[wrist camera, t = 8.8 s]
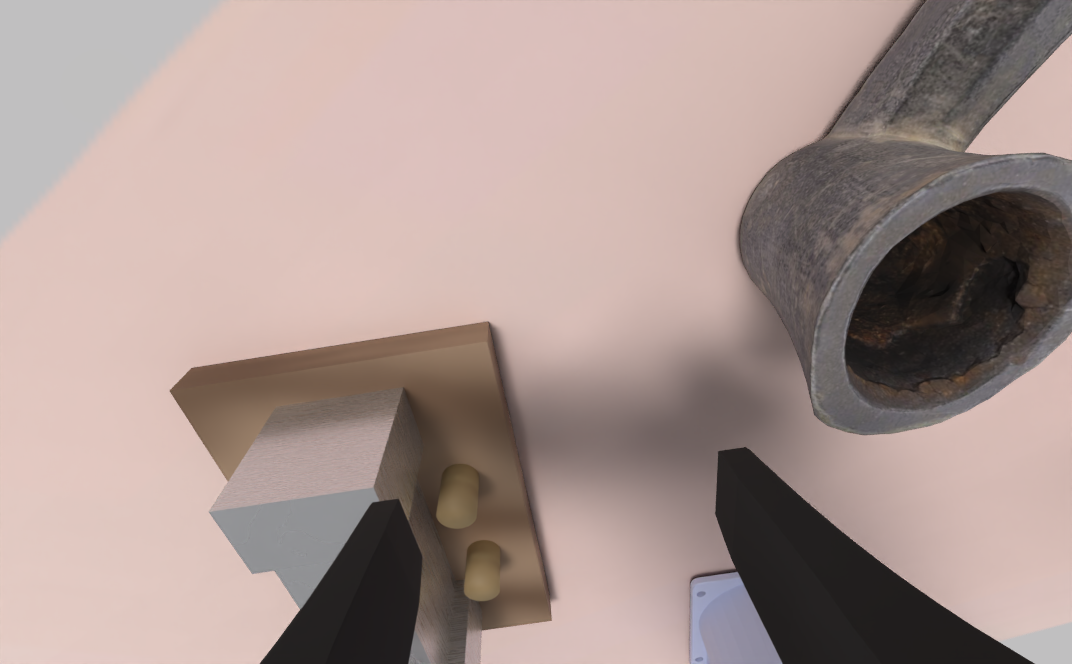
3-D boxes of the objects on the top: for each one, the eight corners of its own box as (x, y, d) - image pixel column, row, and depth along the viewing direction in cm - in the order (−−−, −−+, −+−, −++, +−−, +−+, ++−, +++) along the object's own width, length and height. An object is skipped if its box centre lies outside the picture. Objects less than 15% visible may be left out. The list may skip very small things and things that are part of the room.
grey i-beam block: (482, 613, 26) (477, 723, 22) (390, 626, 27) (367, 738, 22) (403, 386, 19) (373, 487, 15) (275, 406, 19) (208, 511, 15)
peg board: (549, 594, 28) (555, 659, 25) (344, 623, 29) (325, 691, 26) (488, 321, 19) (484, 372, 16) (191, 368, 20) (134, 426, 17)
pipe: (1054, -13, 15) (1526, -65, 8) (783, 327, 20) (925, 470, 14) (909, -130, 13) (1340, -320, 7) (658, 271, 19) (747, 400, 12)
